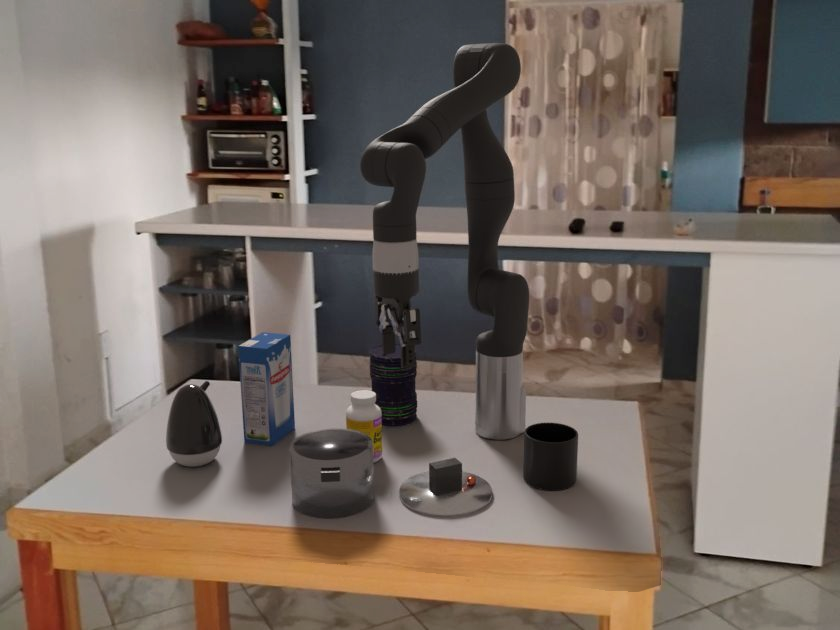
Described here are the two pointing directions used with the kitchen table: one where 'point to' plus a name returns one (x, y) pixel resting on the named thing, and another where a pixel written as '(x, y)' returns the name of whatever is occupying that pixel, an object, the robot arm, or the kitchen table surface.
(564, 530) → the kitchen table surface
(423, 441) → the kitchen table surface
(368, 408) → the supplement bottle
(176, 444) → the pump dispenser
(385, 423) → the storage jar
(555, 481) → the mug
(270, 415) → the milk carton
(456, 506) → the lid
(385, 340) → the robot arm
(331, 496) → the pot
